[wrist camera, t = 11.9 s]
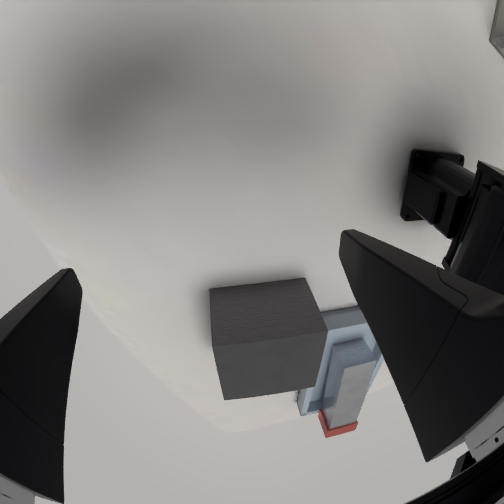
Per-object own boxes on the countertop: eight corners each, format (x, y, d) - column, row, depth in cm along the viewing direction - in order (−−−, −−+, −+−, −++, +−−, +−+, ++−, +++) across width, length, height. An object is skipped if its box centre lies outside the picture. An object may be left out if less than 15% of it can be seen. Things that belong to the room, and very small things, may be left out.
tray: (392, 299, 30) (403, 314, 28) (357, 388, 40) (362, 401, 38) (311, 313, 29) (318, 332, 27) (296, 401, 39) (300, 416, 37)
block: (305, 278, 26) (328, 330, 21) (299, 337, 31) (315, 386, 25) (209, 288, 25) (212, 346, 20) (219, 347, 30) (224, 400, 24)
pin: (365, 337, 31) (380, 360, 28) (346, 409, 38) (355, 429, 34) (330, 345, 31) (342, 370, 27) (318, 416, 38) (325, 437, 34)
